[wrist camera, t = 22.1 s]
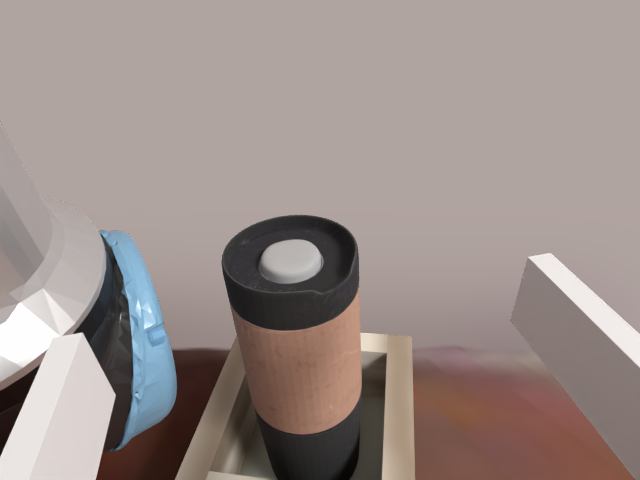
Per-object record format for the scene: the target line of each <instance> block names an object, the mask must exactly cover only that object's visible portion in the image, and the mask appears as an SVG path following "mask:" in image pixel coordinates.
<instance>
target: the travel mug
mask: <svg viewBox="0 0 640 480" xmlns="http://www.w3.org/2000/svg"><path fill="white" fill-rule="evenodd" d="M222 269H223V275H224V280H225V284H226V288H227V293H228V297H229V301H230V306H231V310H232V315H233V319H234V324H235V328H236V332H237V337H238V341H239V346H240V350H241V355H242V359H243V364H244V368H245V372H246V377H247V381H248V386H249V390H250V395H251V399H252V402H253V406H254V410H255V413H256V416H257V420H258V423H259V427H260V430H261V433H262V437H263V440H264V443H265V447H266V450H267V454H268V457H269V460H270V463H271V466H272V469H273V472H274V474H275V476H276V478H277V479H278V480H350V478H351V477H352V475H353V473H354V471H355V469H356V466H357V463H358V457H359V444H360V418H361V391H362V373H361V335H360V296H359V257H358V247H357V243H356V241H355V238H354V237H353V235H352V234H351V233H350V232H349V231H348V230H347V229H346V228H345V227H344V226H342V225H340V224H339V223H337V222H334V221H332V220H329V219H326V218H322V217H317V216H309V215H289V216H281V217H276V218H271V219H267V220H264V221H261V222H258V223H256V224H253V225H251V226H249V227H248V228H246V229H244V230H242V231H241V232H239V233H238V234H237V235H236V236H235V237H233V238H232V239H231V240H230V242H229V243H228V244H227V246H226V248H225V250H224V252H223V255H222Z"/></svg>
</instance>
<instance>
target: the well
mask: <svg viewBox="0 0 640 480" xmlns="http://www.w3.org/2000/svg"><path fill="white" fill-rule="evenodd" d="M360 335H361V373H362V391H361V418H360V444H359V457H358V463H357V466H356V469H355V471H354V473H353V475H352V477H351V478H350V480H415V460H414V417H413V373H412V337H411V336H398V335H385V334H371V333H360ZM175 480H278V479H277V478H276V476H275V474H274V472H273V469H272V466H271V463H270V460H269V457H268V454H267V450H266V447H265V443H264V440H263V437H262V433H261V430H260V427H259V423H258V420H257V416H256V413H255V410H254V406H253V402H252V399H251V395H250V390H249V386H248V381H247V377H246V372H245V368H244V364H243V359H242V355H241V350H240V346H239V341H238V337H236V339H235V341H234V343H233V346H232V348H231V350H230V353H229V355H228V357H227V359H226V362H225V364H224V366H223V369H222V371H221V373H220V376H219V378H218V380H217V383H216V385H215V387H214V390H213V392H212V394H211V397H210V399H209V401H208V404H207V406H206V408H205V411H204V413H203V415H202V418H201V420H200V422H199V425H198V427H197V429H196V432H195V434H194V436H193V439H192V441H191V443H190V446H189V448H188V450H187V453H186V455H185V457H184V460H183V462H182V464H181V467H180V469H179V471H178V474H177V476H176V478H175Z"/></svg>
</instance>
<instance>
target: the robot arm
mask: <svg viewBox="0 0 640 480" xmlns="http://www.w3.org/2000/svg"><path fill="white" fill-rule="evenodd" d="M510 321H511V322H512V324H513V325H514V326H515V327H516V328H517V330H518V331H519V332H520V334H521V335H522V336H523V337H524V339H525V340H526V341H527V343H528V344H529V345H530V346H531V348H532V349H533V350H534V351H535V353H536V354H537V355H538V357H539V358H540V359H541V360H542V362H543V363H544V364H545V365H546V367H547V368H548V369H549V371H550V372H551V373H552V374H553V376H554V377H555V378H556V379H557V381H558V382H559V383H560V385H561V386H562V387H563V388H564V390H565V391H566V392H567V393H568V395H569V396H570V397H571V399H572V400H573V401H574V402H575V404H576V405H577V406H578V407H579V409H580V410H581V411H582V413H583V414H584V415H585V416H586V418H587V419H588V420H589V421H590V423H591V424H592V425H593V426H594V428H595V429H596V430H597V432H598V433H599V434H600V435H601V437H602V438H603V439H604V440H605V442H606V443H607V444H608V446H609V447H610V448H611V449H612V451H613V452H614V453H615V454H616V456H617V457H618V458H619V460H620V461H621V462H622V463H623V465H624V466H625V467H626V468H627V470H628V471H629V472H630V474H631V475H632V476H633V477H634V479H635V480H640V334H639V333H638V332H637V331H636V330H634V329H633V328H632V327H631V326H630V325H629V324H628V323H627V322H626V321H625V320H623V319H622V318H621V317H620V316H619V315H618V314H617V313H616V312H615V311H613V310H612V309H611V308H610V307H609V306H608V305H607V304H606V303H605V302H604V301H603V300H601V299H600V298H599V297H598V296H597V295H596V294H595V293H593V291H592V290H590V289H589V288H588V287H587V286H586V285H585V284H584V283H583V282H582V281H581V280H579V279H578V278H577V277H576V276H575V275H574V274H573V273H572V272H571V271H570V270H568V269H567V268H566V267H565V266H564V265H563V264H562V263H561V262H560V261H558V260H557V259H556V258H555V257H554V256H553V255H552V254H551V253H549V254H543V255H537V256H531V257H528V259H527V262H526V266H525V269H524V273H523V277H522V280H521V284H520V288H519V291H518V295H517V298H516V302H515V306H514V309H513V312H512V316H511V320H510ZM176 395H177V378H176V370H175V364H174V358H173V353H172V349H171V345H170V341H169V338H168V336H167V333H166V331H165V330H164V322H163V317H162V312H161V307H160V304H159V301H158V298H157V295H156V292H155V289H154V286H153V283H152V280H151V278H150V275H149V272H148V270H147V267H146V265H145V262H144V260H143V258H142V256H141V254H140V252H139V250H138V248H137V246H136V244H135V243H134V241H133V239H132V238H131V237H130V236H129V235H128V234H127V233H125V232H123V231H119V230H114V231H104V230H100V231H98V230H97V228H96V227H95V226H94V224H93V223H92V222H91V221H90V219H89V218H88V217H87V216H86V215H85V214H84V213H83V212H81V211H80V210H78V209H77V208H75V207H73V206H72V205H70V204H67V203H65V202H63V201H61V200H58V199H54V198H51V197H48V196H43V195H39V194H38V192H37V190H36V188H35V186H34V185H33V183H32V181H31V179H30V177H29V175H28V173H27V171H26V170H25V167H24V166H23V164H22V162H21V160H20V158H19V156H18V154H17V152H16V150H15V149H14V147H13V145H12V143H11V141H10V139H9V137H8V135H7V133H6V131H5V130H4V128H3V126H2V124H1V122H0V480H96V476H97V472H98V468H99V463H100V459H101V455H102V454H103V453H105V452H107V451H108V452H114V451H117V450H119V449H121V448H123V447H124V445H126V444H127V443H128V442H129V440H131V438H133V437H135V436H136V435H138V434H140V433H142V432H143V431H145V430H147V429H149V428H150V427H152V426H154V425H156V424H157V423H159V422H160V421H162V420H163V419H164V418H165V417H166V416H167V415H168V414H169V412H170V411H171V409H172V407H173V405H174V403H175V400H176Z"/></svg>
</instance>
